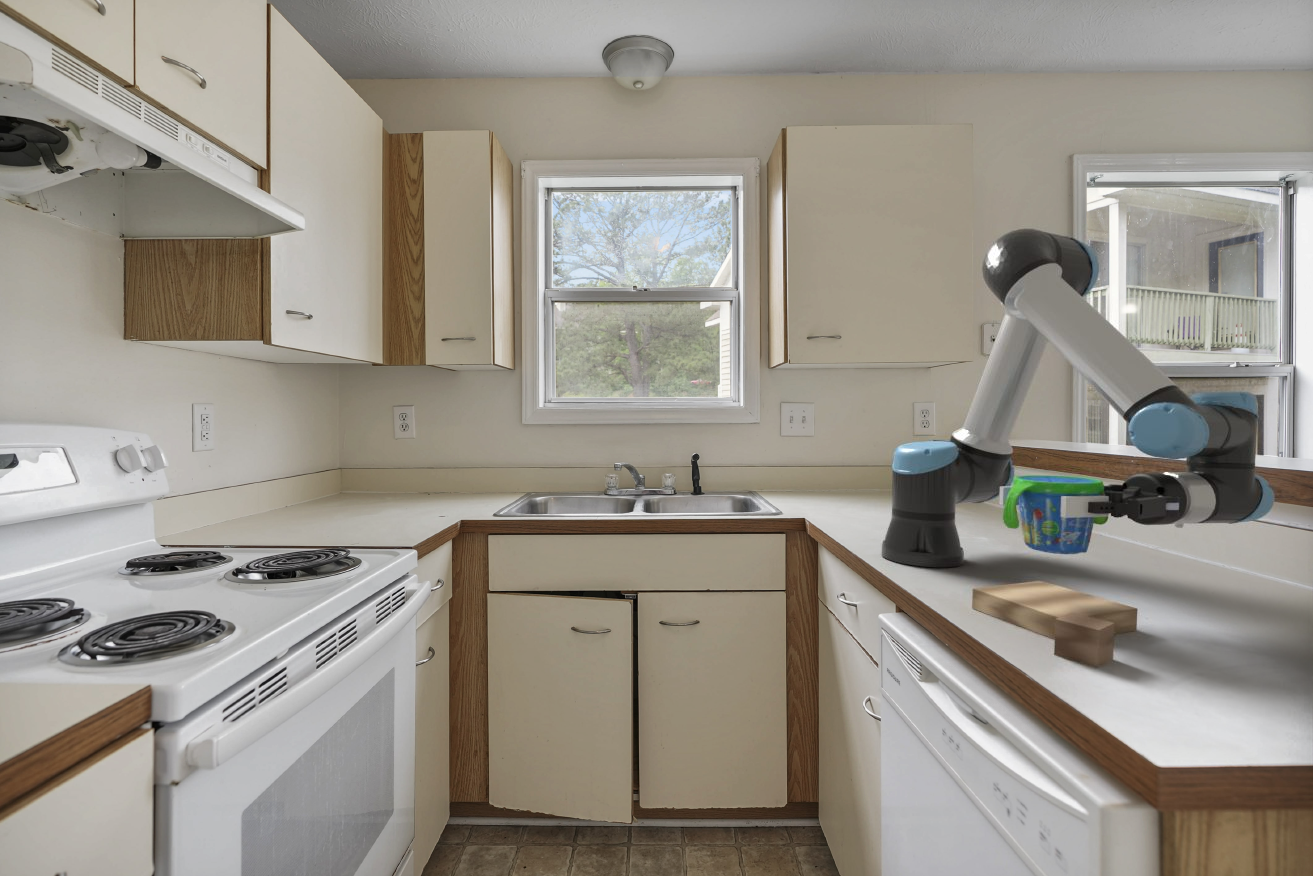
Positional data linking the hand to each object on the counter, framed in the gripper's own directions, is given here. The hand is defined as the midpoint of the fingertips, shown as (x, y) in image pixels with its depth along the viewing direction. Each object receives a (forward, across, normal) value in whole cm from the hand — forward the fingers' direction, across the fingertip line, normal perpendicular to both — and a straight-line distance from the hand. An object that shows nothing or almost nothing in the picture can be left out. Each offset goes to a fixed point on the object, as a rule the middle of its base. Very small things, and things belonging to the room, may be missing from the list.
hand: (1030, 501), depth 84 cm
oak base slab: (-4, 0, -17) cm, 17 cm away
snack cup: (-4, 0, -7) cm, 8 cm away
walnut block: (+3, -12, -17) cm, 21 cm away
